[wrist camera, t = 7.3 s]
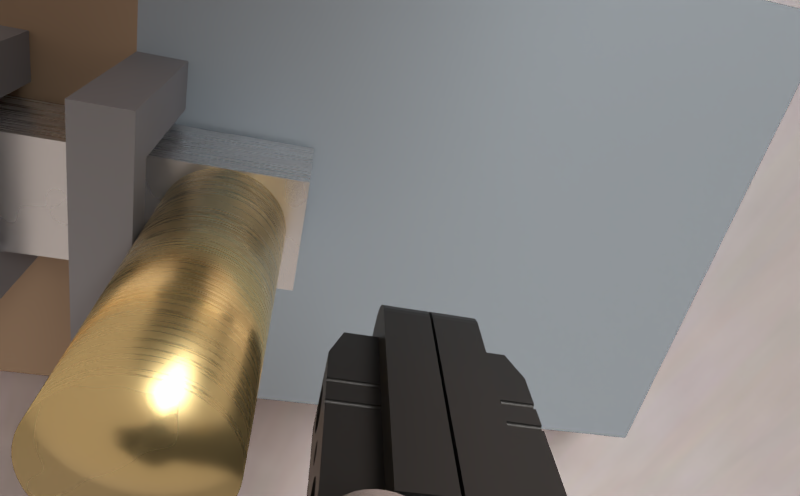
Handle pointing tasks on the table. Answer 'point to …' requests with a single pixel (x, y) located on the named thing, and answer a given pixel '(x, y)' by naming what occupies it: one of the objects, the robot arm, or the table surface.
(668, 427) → the table surface
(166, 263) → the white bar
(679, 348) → the table surface
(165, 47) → the door and jamb lock plate
